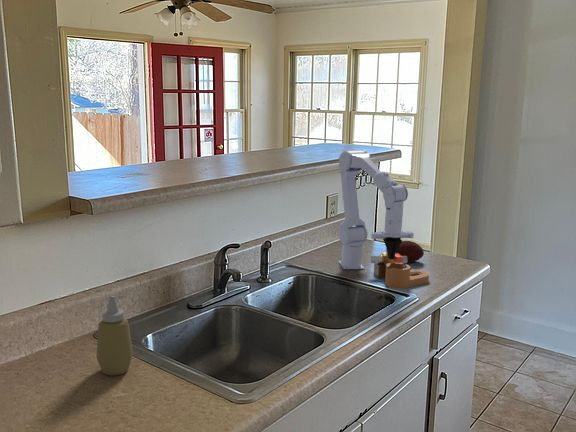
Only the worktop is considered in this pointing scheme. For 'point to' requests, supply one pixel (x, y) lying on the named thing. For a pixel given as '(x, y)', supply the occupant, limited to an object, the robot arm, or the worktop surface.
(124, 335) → the squeeze bottle
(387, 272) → the bracket
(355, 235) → the robot arm
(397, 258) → the valve lever
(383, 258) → the brass valve
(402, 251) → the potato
